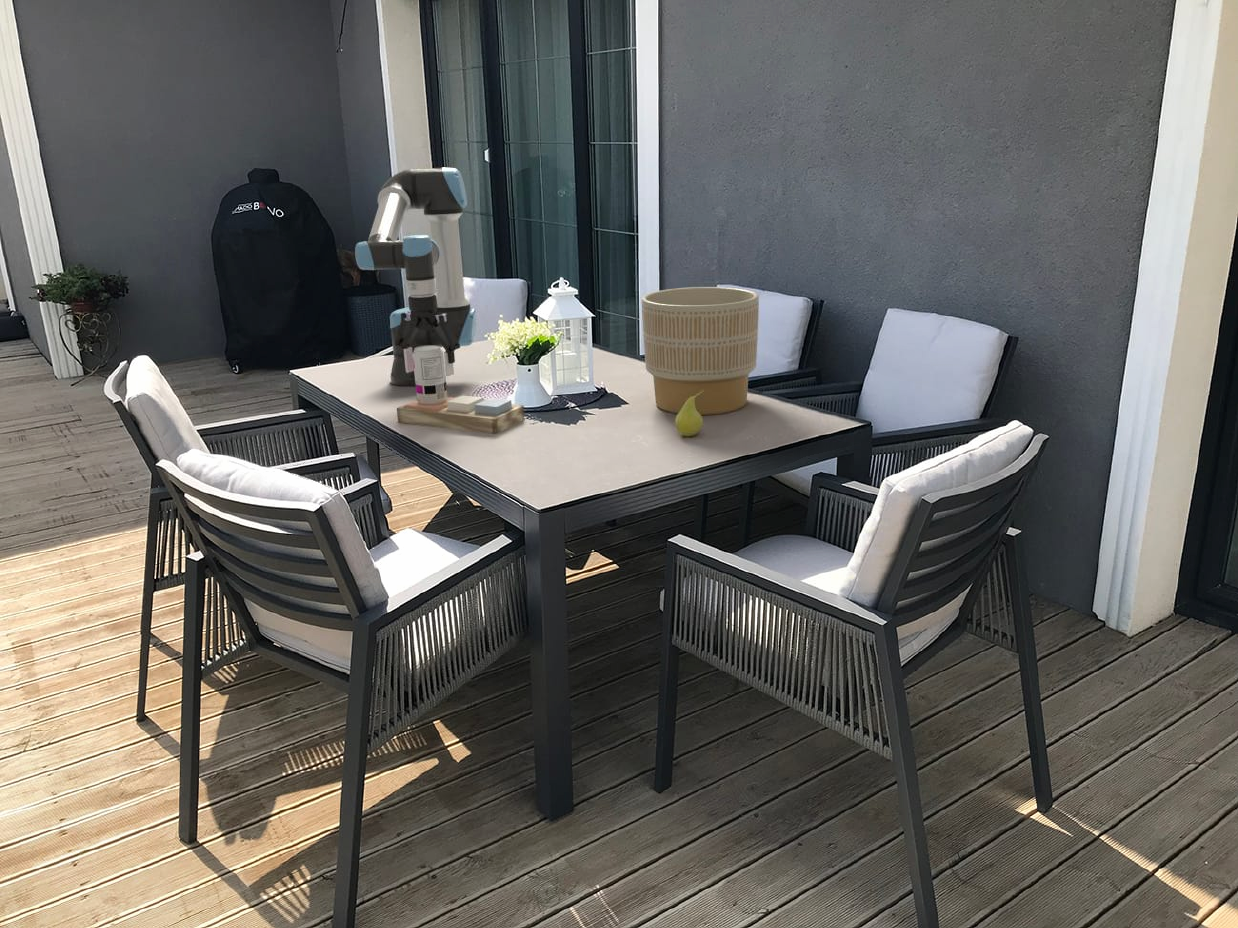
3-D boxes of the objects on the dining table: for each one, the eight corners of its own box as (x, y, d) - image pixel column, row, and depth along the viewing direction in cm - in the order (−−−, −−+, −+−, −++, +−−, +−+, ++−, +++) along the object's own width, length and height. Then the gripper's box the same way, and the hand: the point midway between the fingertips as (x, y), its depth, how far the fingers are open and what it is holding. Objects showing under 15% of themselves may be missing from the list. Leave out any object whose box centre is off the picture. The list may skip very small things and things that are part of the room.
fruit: (675, 432, 255) (674, 386, 251) (704, 431, 254) (704, 385, 250) (675, 439, 248) (674, 393, 244) (706, 439, 248) (705, 392, 244)
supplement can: (412, 404, 272) (406, 350, 267) (427, 397, 279) (422, 344, 274) (438, 406, 269) (432, 351, 264) (453, 398, 276) (448, 345, 272)
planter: (655, 388, 297) (652, 287, 288) (761, 390, 291) (762, 286, 281) (635, 418, 268) (631, 306, 259) (753, 420, 262) (754, 305, 252)
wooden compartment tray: (429, 409, 285) (427, 395, 283) (524, 419, 271) (523, 405, 269) (398, 422, 273) (396, 408, 272) (495, 433, 259) (494, 419, 258)
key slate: (490, 414, 271) (489, 398, 269) (512, 416, 268) (511, 400, 266) (476, 421, 265) (474, 404, 264) (498, 423, 262) (496, 406, 260)
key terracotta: (430, 410, 283) (428, 395, 281) (462, 414, 278) (460, 398, 276) (405, 420, 273) (404, 404, 272) (438, 424, 269) (436, 408, 267)
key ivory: (463, 411, 275) (462, 395, 273) (484, 413, 272) (483, 397, 270) (448, 417, 269) (446, 401, 267) (469, 420, 266) (468, 404, 264)
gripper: (376, 295, 267) (385, 373, 274) (451, 299, 256) (459, 379, 263) (394, 291, 273) (402, 367, 280) (468, 294, 263) (475, 373, 269)
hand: (429, 373), depth 272 cm, fingers open, 13 cm apart
